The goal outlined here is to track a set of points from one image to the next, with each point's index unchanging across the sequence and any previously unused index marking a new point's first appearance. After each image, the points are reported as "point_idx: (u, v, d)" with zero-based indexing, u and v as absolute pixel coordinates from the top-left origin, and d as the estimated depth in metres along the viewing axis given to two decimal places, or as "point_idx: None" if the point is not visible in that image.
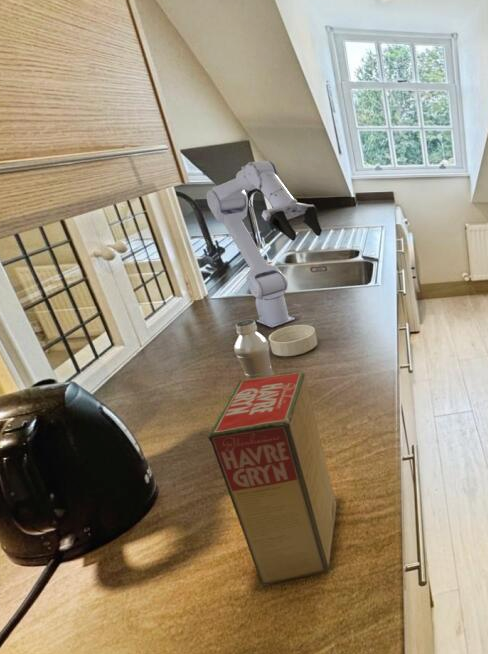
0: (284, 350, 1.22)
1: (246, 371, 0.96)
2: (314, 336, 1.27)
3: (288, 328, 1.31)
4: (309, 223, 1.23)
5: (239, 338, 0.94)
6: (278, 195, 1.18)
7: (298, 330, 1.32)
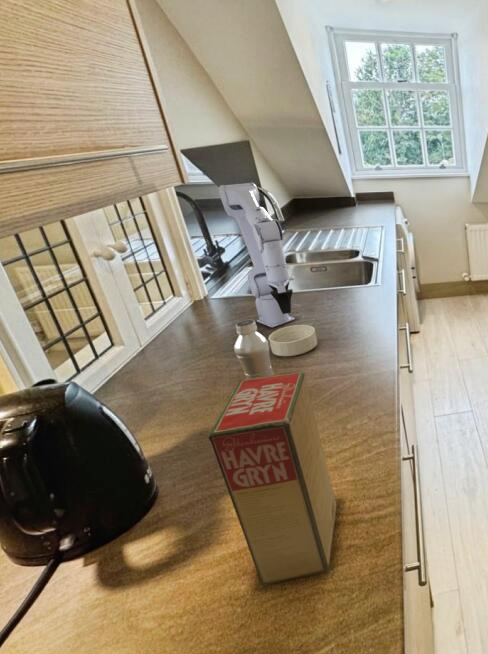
0: (284, 350, 1.22)
1: (246, 371, 0.96)
2: (314, 336, 1.27)
3: (288, 328, 1.31)
4: None
5: (239, 338, 0.94)
6: (285, 268, 1.28)
7: (298, 330, 1.32)
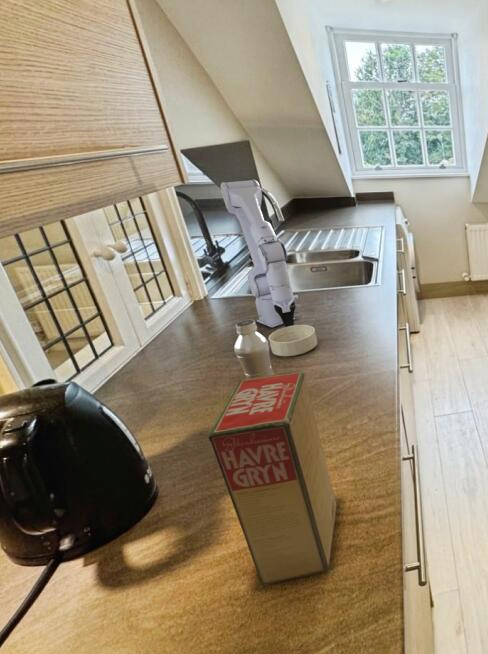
0: (284, 350, 1.22)
1: (246, 371, 0.96)
2: (314, 336, 1.27)
3: (288, 328, 1.31)
4: None
5: (239, 338, 0.94)
6: (289, 288, 1.30)
7: (298, 330, 1.32)
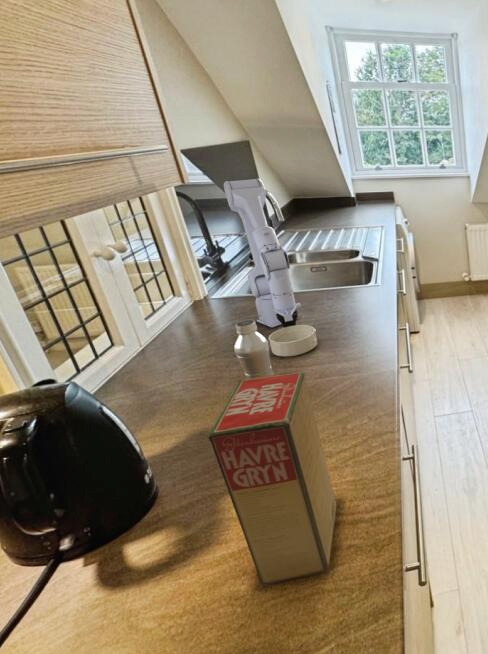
0: (284, 350, 1.22)
1: (246, 371, 0.96)
2: (314, 336, 1.27)
3: (288, 328, 1.31)
4: (285, 322, 1.32)
5: (239, 338, 0.94)
6: (292, 296, 1.29)
7: (298, 330, 1.32)
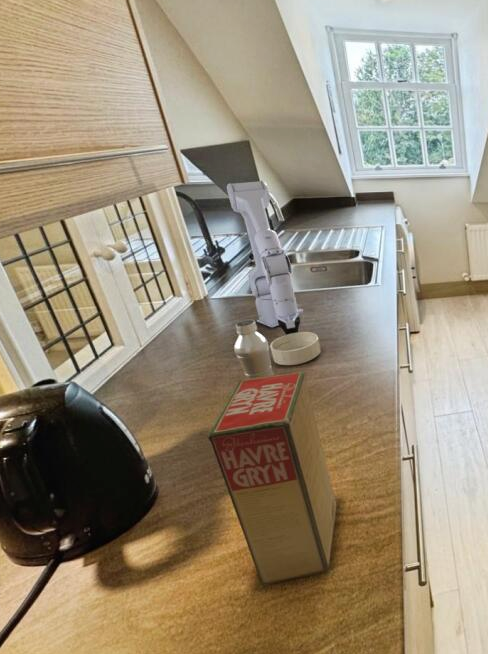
0: (286, 359, 1.17)
1: (246, 371, 0.96)
2: (317, 344, 1.22)
3: (290, 335, 1.26)
4: (287, 328, 1.27)
5: (239, 338, 0.94)
6: (294, 302, 1.24)
7: (300, 338, 1.27)
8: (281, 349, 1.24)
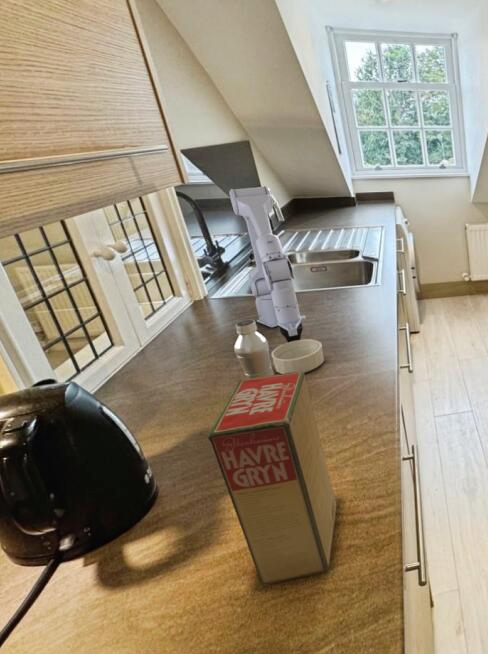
0: (288, 368, 1.13)
1: (246, 371, 0.96)
2: (321, 352, 1.18)
3: (293, 343, 1.22)
4: (289, 336, 1.23)
5: (239, 338, 0.94)
6: (296, 308, 1.19)
7: (303, 345, 1.23)
8: (283, 357, 1.19)
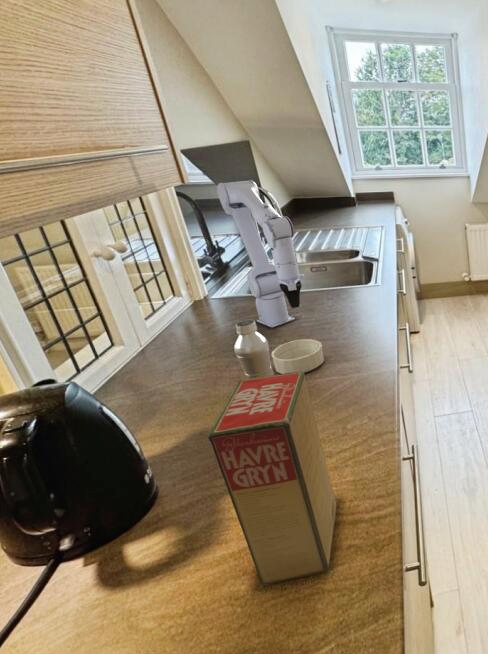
0: (288, 368, 1.13)
1: (246, 371, 0.96)
2: (321, 352, 1.18)
3: (293, 343, 1.22)
4: None
5: (239, 338, 0.94)
6: (295, 266, 1.27)
7: (303, 345, 1.23)
8: (283, 357, 1.19)
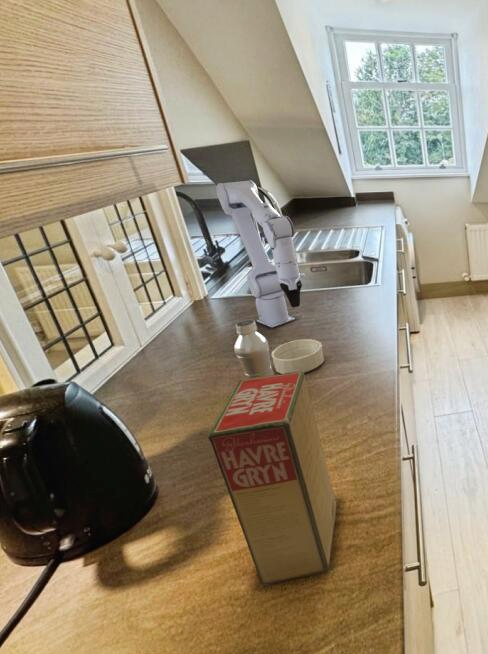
0: (288, 368, 1.13)
1: (246, 371, 0.96)
2: (321, 352, 1.18)
3: (293, 343, 1.22)
4: None
5: (239, 338, 0.94)
6: (296, 265, 1.27)
7: (303, 345, 1.23)
8: (283, 357, 1.19)
